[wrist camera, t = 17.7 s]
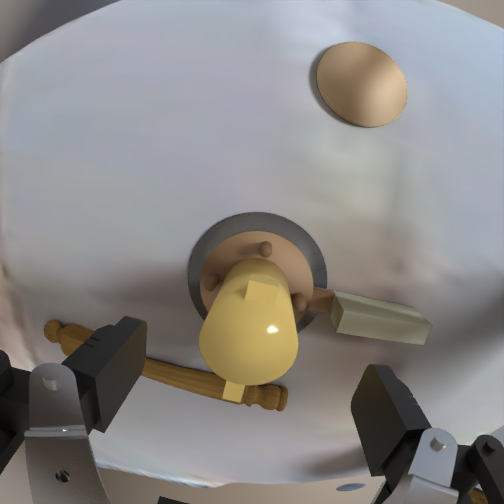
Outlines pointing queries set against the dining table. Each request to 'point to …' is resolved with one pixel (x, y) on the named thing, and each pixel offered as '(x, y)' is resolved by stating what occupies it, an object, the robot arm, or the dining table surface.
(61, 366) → the robot arm
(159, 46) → the dining table surface
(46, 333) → the tap handle
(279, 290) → the cylinder with side tabs
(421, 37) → the dining table surface
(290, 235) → the stand base
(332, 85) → the coaster
